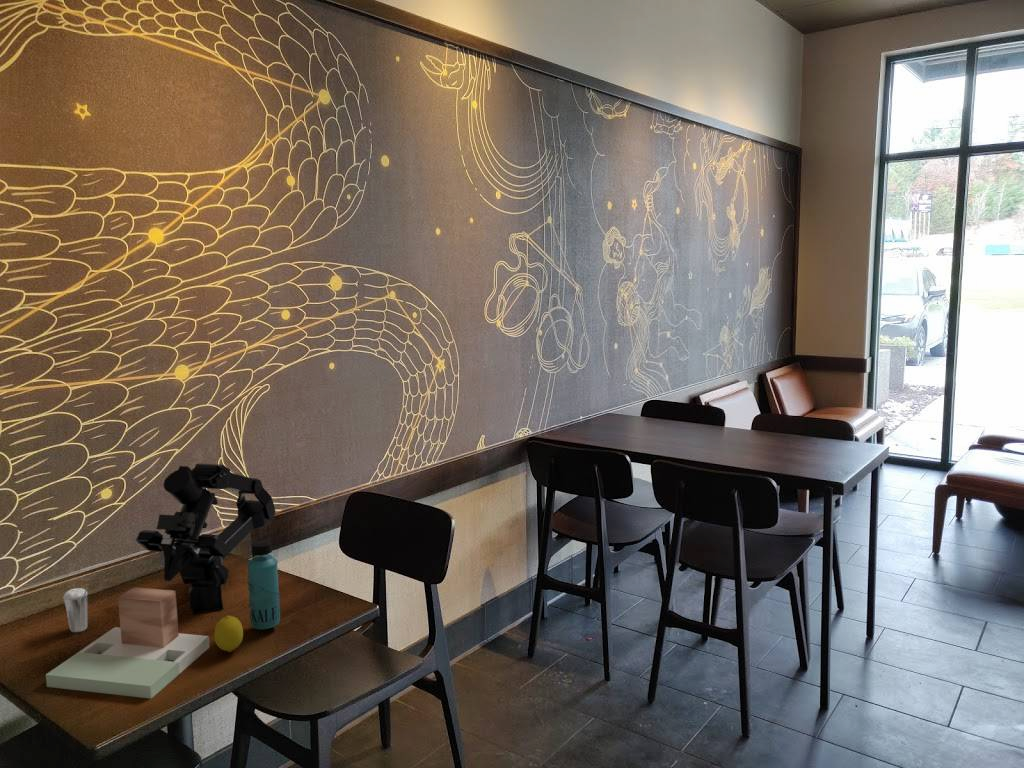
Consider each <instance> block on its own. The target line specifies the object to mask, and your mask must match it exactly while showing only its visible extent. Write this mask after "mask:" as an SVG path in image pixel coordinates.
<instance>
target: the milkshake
mask: <svg viewBox="0 0 1024 768" xmlns="http://www.w3.org/2000/svg"><path fill="white" fill-rule="evenodd" d="M88 588H89V586H86V588H85V589H84V588H82V587H79V588H78V587H76V588H70V589H69V590H67V591H65V593H64V595H63V602H64V606H65V610H66V615H67V620H68V626H69V630H70V632H71V633H80V632H83V631H85V630H86V629H88Z"/></svg>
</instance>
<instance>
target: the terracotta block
mask: <svg viewBox="0 0 1024 768" xmlns="http://www.w3.org/2000/svg"><path fill="white" fill-rule="evenodd" d="M117 604H118V616H119V628H121V640H122V644H131V645H141V646H151V647H161V648H164V647H165V646H167V645H168V644H169V643H170V642H172V641H173V640H174V639H175V638H177V637H178V636H179V633H180V632H179V622H178V621H179V620H178V608H177V607H178V606H177V595H176V590H171V589H160V588H159V589H158V588H146V587H138V586H137V587H136V586H135V587H132V588H131V589H129V590H128V591H126V592H124V593H123V594H121V595H120V596H118V597H117Z"/></svg>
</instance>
